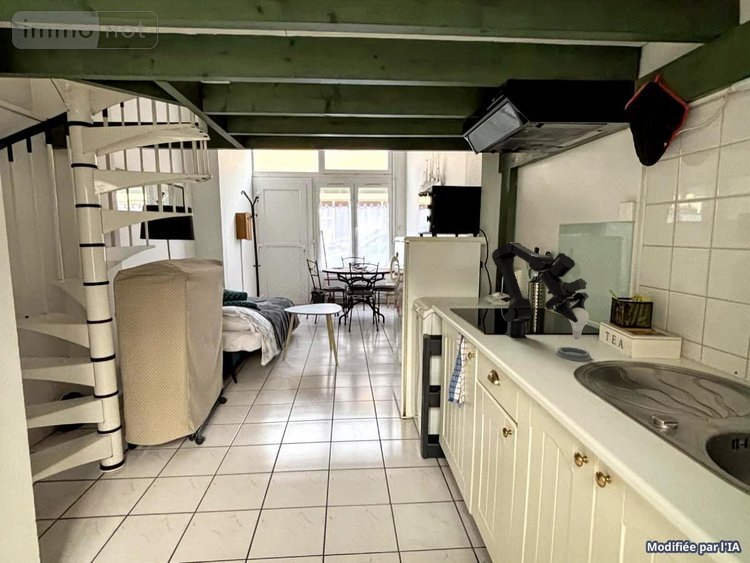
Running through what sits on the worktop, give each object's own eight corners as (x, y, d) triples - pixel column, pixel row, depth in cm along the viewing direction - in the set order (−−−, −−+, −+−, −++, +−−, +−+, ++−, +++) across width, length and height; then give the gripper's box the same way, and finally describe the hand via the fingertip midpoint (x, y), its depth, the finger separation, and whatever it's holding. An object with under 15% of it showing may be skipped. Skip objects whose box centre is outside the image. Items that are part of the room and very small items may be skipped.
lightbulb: (590, 341, 135) (593, 309, 133) (571, 341, 135) (574, 309, 133) (581, 336, 141) (583, 306, 140) (563, 336, 141) (565, 305, 140)
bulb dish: (566, 361, 132) (567, 355, 132) (549, 351, 143) (550, 346, 143) (598, 361, 133) (598, 355, 133) (578, 351, 144) (579, 346, 144)
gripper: (556, 271, 133) (585, 310, 125) (586, 269, 143) (614, 305, 136) (533, 291, 140) (559, 328, 133) (563, 288, 151) (589, 323, 143)
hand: (582, 320), depth 136 cm, fingers closed on lightbulb, 6 cm apart
